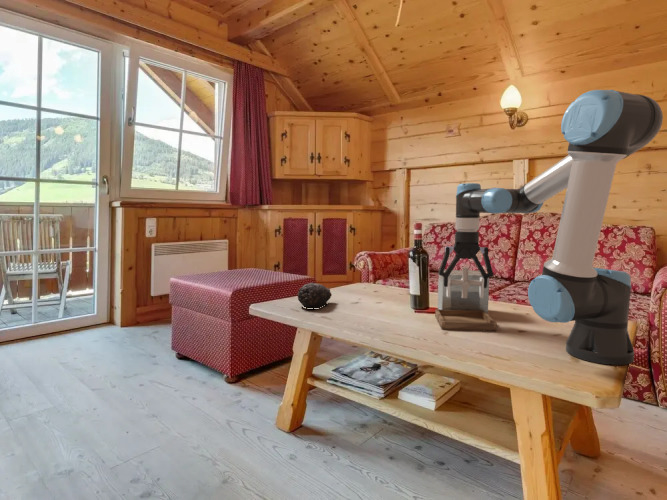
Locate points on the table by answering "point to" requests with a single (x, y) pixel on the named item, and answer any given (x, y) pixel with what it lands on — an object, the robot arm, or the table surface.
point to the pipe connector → (465, 283)
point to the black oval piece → (314, 295)
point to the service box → (456, 293)
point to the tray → (465, 320)
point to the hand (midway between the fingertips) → (464, 296)
